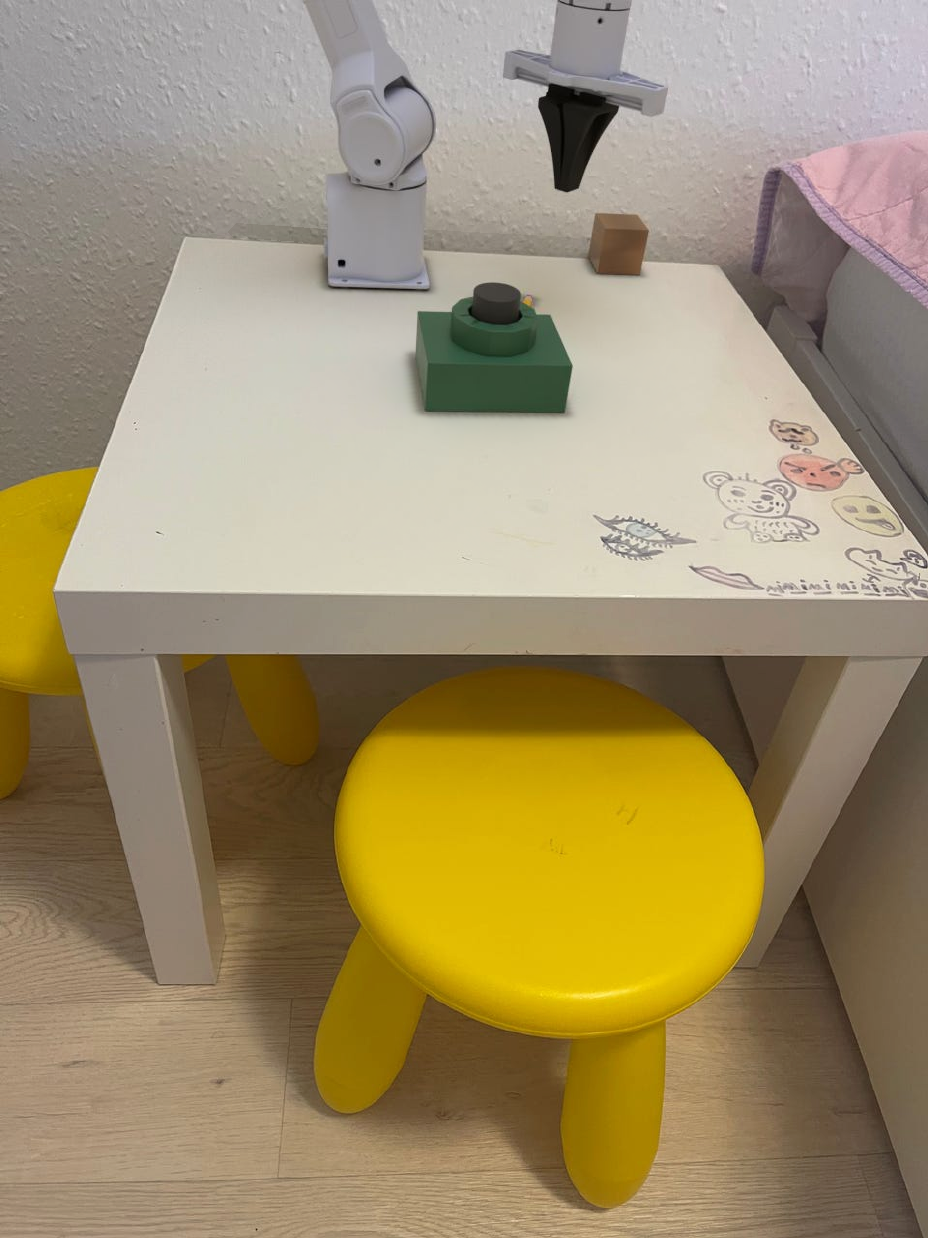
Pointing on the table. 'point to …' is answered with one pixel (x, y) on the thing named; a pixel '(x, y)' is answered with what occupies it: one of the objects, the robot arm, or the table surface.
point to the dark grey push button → (496, 303)
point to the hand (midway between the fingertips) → (566, 188)
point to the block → (617, 243)
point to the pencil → (528, 300)
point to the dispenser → (491, 362)
